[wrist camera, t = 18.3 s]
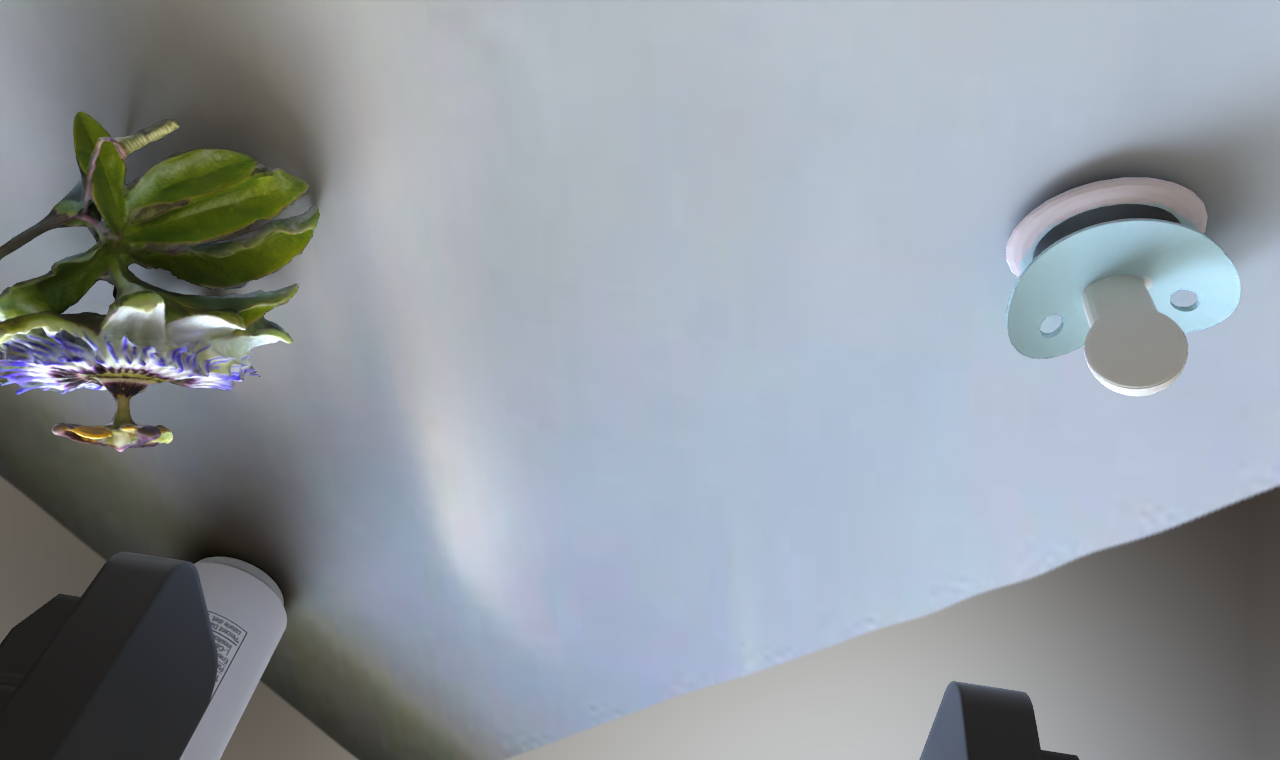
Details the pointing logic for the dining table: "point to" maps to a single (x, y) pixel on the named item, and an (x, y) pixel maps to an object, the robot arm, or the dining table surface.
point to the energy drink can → (235, 645)
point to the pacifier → (1119, 283)
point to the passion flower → (144, 314)
